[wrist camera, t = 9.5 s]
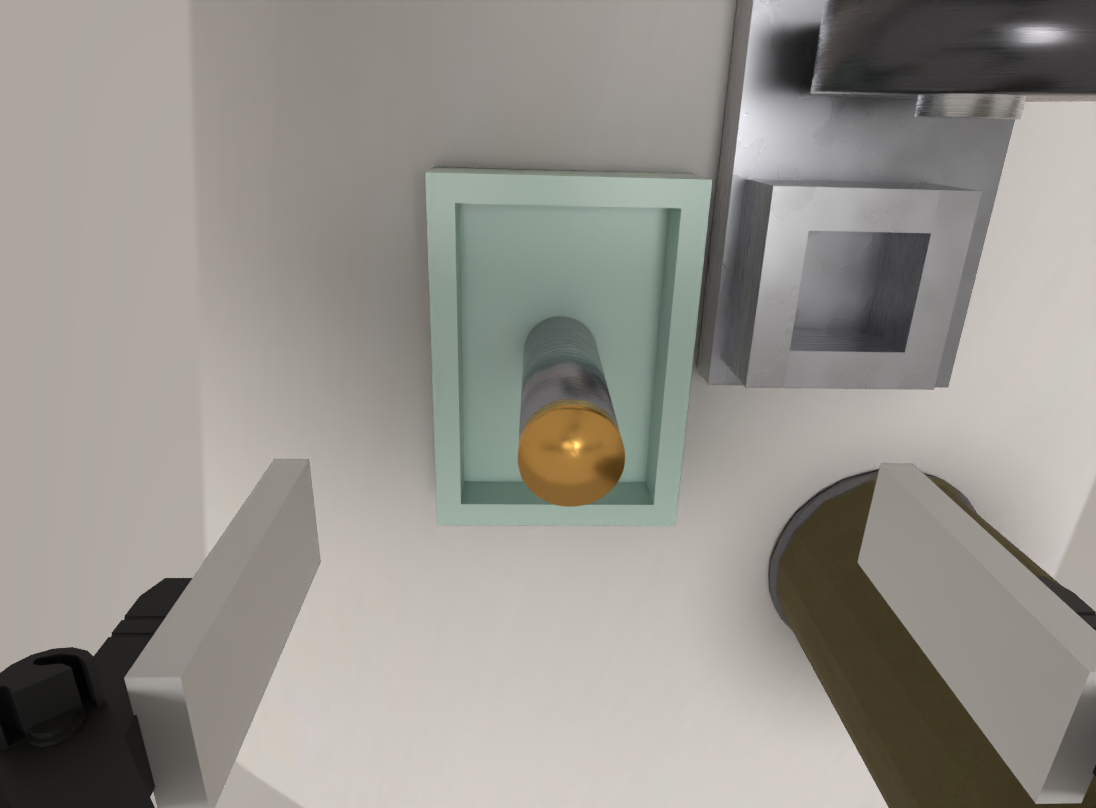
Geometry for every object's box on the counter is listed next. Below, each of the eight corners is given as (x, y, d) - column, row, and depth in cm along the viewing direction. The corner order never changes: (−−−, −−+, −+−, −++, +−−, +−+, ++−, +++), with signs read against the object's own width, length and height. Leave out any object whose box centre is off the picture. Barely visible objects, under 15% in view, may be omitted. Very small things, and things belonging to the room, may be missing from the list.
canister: (732, 619, 36) (963, 1153, 17) (830, 440, 32) (1250, 870, 14) (917, 671, 38) (1306, 1206, 19) (1029, 506, 34) (1637, 967, 16)
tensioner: (744, -66, 25) (902, -194, 15) (1021, -54, 25) (1359, -169, 15) (696, 368, 31) (786, 492, 21) (922, 371, 31) (1118, 493, 21)
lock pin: (524, 315, 29) (518, 408, 19) (598, 317, 29) (628, 410, 19) (523, 385, 30) (517, 506, 20) (595, 387, 30) (621, 507, 21)
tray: (434, 166, 27) (425, 172, 25) (692, 173, 28) (712, 179, 25) (443, 490, 33) (437, 525, 30) (661, 491, 33) (675, 525, 30)
